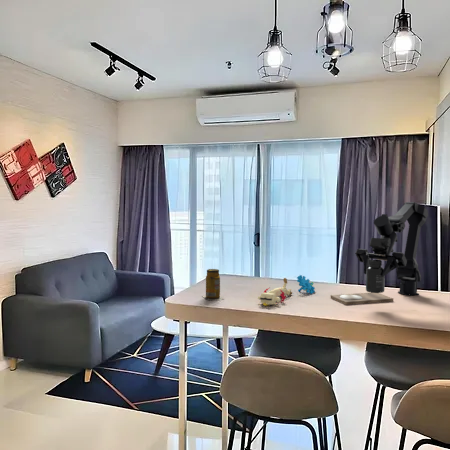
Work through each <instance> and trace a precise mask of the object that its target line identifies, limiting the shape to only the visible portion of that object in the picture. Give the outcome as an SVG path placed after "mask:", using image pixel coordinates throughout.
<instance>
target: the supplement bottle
mask: <svg viewBox="0 0 450 450" xmlns="http://www.w3.org/2000/svg"><path fill="white" fill-rule="evenodd" d="M382 261H383V260H377V259H370V260H369V264H368V265H369V267H367V268H366V274H365V291H366V293H380V294H382V293H384V292H385V288H386V287H385V276H386V275H385V276H384V277H382V272H383V270H384V268H385V267H384V268H383V267H382V265H383V262H382Z"/></svg>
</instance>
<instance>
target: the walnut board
mask: <svg viewBox="0 0 450 450" xmlns="http://www.w3.org/2000/svg"><path fill="white" fill-rule="evenodd" d="M330 299H331V300H334V301H336V302H338V303H340V304H342V305H345V306H348V305H362V304H363V305H364V304H377V303H378V304H379V303H389V302H390V303H392V302H394V298H392V297H391V296H388V295H385V294H382V293H371V292H359V293H346V294H345V293H343V294H342V293H341V294H331V295H330Z"/></svg>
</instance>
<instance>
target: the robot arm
mask: <svg viewBox="0 0 450 450" xmlns="http://www.w3.org/2000/svg"><path fill="white" fill-rule="evenodd" d="M428 217H429V209H427V208H426V207H425V206H423V205H420V204H419V203H418V202H413V201H407V202H404V203H403V206H401V208H400V209H399V210H398V211H397V212H396V213H395V214H394V215H390V216H388V214H386V213H384V214H382V213H381V215H380V216H378V217H376V218H375V219H374V220H373V224H374V227H375V229H376V231H377V234H378V235H380V238H379V237H378V238H377V237H370V241H369V247H371V251H372V252H373V253H372V252H369V251H368V249H365V248H357V249H356V250H355V256H356V258H357V260H358V261H359V262H360V263H363V274H364V275H366V268H367V267H369V265H368V264H369V260H381V261H386V263H385V266H384V270H383V272H382V277H384V276H386V275H387V274H389V273H390V272H392V271H393V270H395V269H396V278H397V280H400V283H399V290H398V291H397V293H399V294H401V295H403V296H407V297H408V296H418V295H420V293H418V282H419V283H420V282H422V281H421V280H422V275H421V272H420V270H419V264H418V262H417V260H416V258H417V252H418V251H417V250H418V245H419V241H420V240H419V239H420V233H421V229H422V227H423V225H425V224H426V223H427V222H426V221H427V219H428ZM406 222H407V223H408V231H407V236H406V244H405V249H404V252H398V251H397V252H396V251H394V245H395V244H396V243H398V241H399V240H398V235H397V233H402V232H403V231H404V230H405V227H406V224H405V223H406Z"/></svg>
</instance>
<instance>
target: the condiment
mask: <svg viewBox="0 0 450 450" xmlns="http://www.w3.org/2000/svg"><path fill="white" fill-rule="evenodd" d="M220 276H221V275H220V270H219V269H217V268H208V269H206V276H205V295H202V297H203V299H205V300H207V301H220V300H221V301H222V300H225V298H224V297H222V296H221V277H220Z"/></svg>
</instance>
